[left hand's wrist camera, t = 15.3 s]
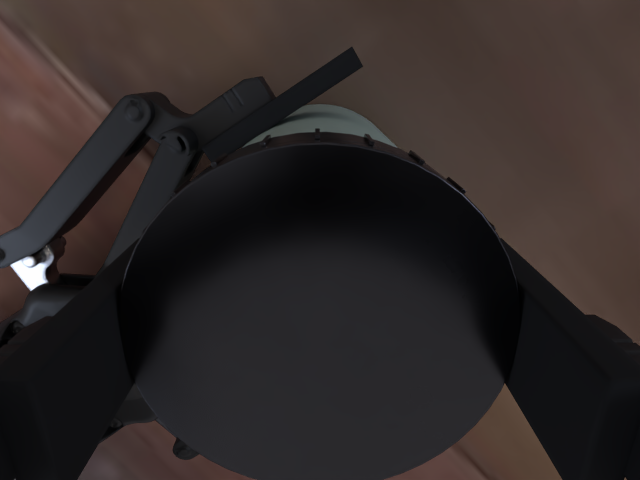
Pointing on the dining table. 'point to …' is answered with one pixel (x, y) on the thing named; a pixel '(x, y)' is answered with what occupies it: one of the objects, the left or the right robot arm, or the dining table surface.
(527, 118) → the dining table surface
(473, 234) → the lid
